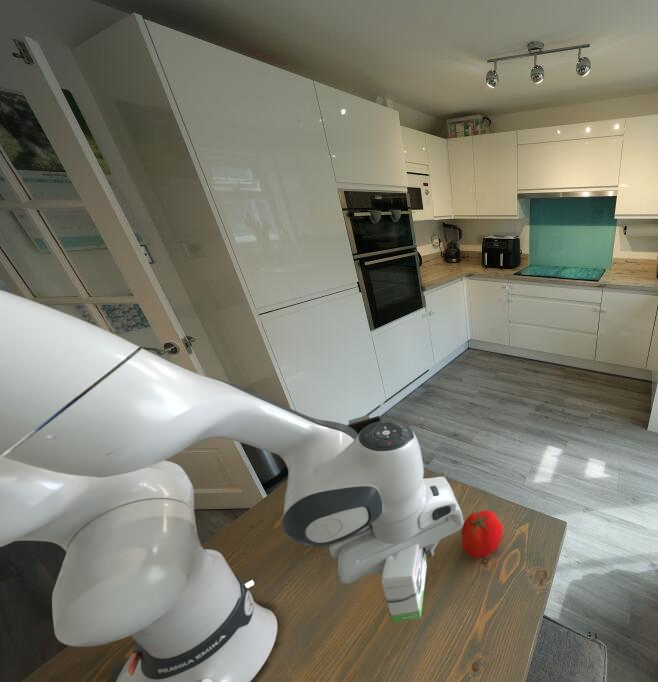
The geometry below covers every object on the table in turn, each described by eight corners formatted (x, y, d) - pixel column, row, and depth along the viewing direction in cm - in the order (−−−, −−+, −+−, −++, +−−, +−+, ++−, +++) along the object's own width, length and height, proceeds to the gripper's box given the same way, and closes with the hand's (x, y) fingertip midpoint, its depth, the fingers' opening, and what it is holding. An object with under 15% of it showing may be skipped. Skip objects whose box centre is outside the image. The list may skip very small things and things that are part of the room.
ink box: (421, 620, 52) (413, 578, 47) (390, 624, 52) (379, 582, 47) (427, 566, 60) (421, 525, 55) (401, 569, 59) (392, 528, 54)
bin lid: (379, 417, 80) (376, 406, 84) (338, 429, 76) (337, 417, 80) (387, 456, 86) (384, 444, 90) (349, 469, 82) (348, 456, 86)
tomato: (508, 532, 77) (508, 509, 73) (490, 574, 68) (489, 550, 65) (474, 519, 80) (473, 496, 77) (454, 558, 71) (451, 534, 68)
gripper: (326, 560, 43) (345, 616, 48) (465, 499, 52) (468, 551, 58) (325, 522, 48) (343, 577, 53) (452, 473, 57) (456, 523, 63)
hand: (409, 563), depth 56 cm, fingers closed on ink box, 6 cm apart
